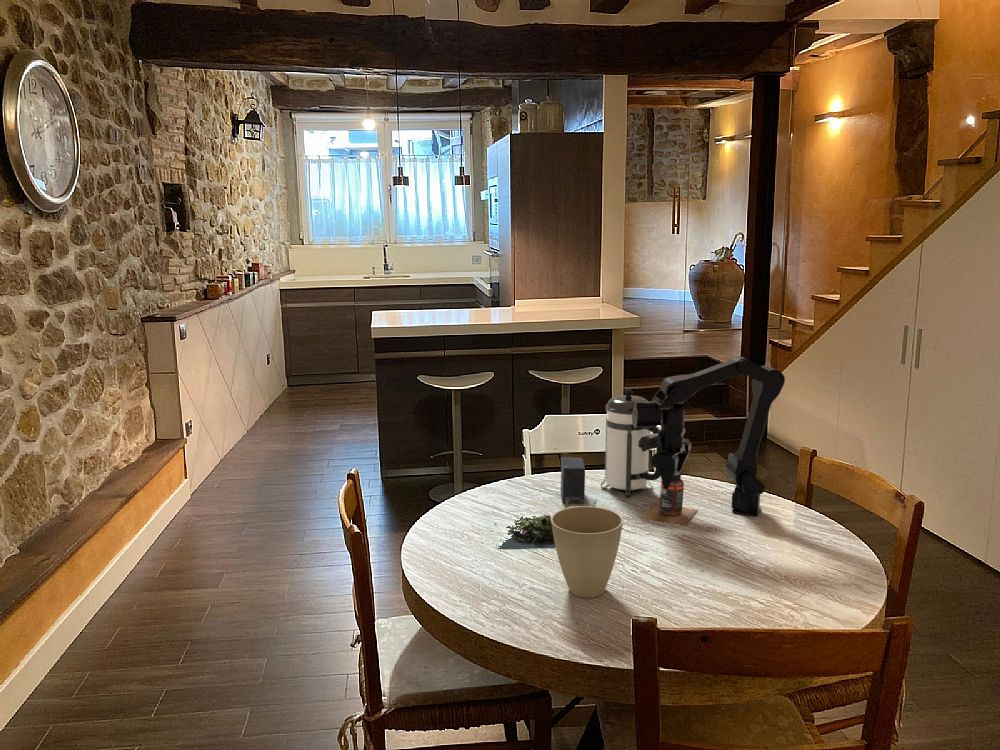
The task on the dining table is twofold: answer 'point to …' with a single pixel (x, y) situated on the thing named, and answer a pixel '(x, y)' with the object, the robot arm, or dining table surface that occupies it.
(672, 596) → the dining table surface
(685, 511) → the walnut trivet
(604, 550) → the plant pot
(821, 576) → the dining table surface
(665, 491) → the supplement bottle
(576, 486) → the small box
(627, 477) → the coffee press
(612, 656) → the dining table surface
